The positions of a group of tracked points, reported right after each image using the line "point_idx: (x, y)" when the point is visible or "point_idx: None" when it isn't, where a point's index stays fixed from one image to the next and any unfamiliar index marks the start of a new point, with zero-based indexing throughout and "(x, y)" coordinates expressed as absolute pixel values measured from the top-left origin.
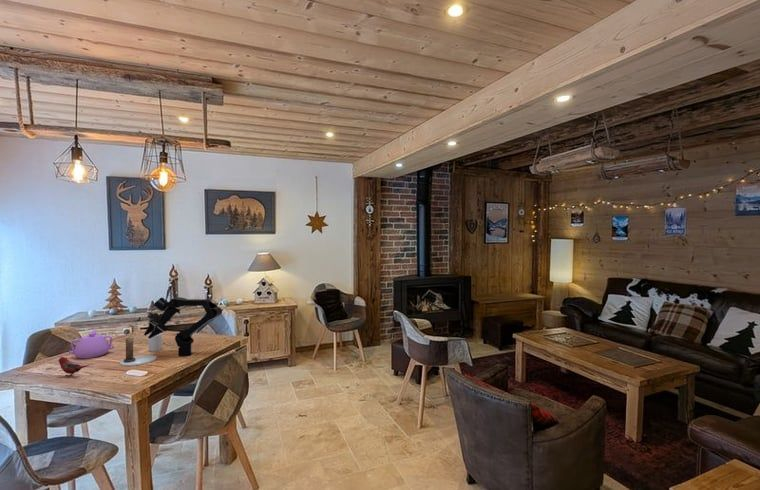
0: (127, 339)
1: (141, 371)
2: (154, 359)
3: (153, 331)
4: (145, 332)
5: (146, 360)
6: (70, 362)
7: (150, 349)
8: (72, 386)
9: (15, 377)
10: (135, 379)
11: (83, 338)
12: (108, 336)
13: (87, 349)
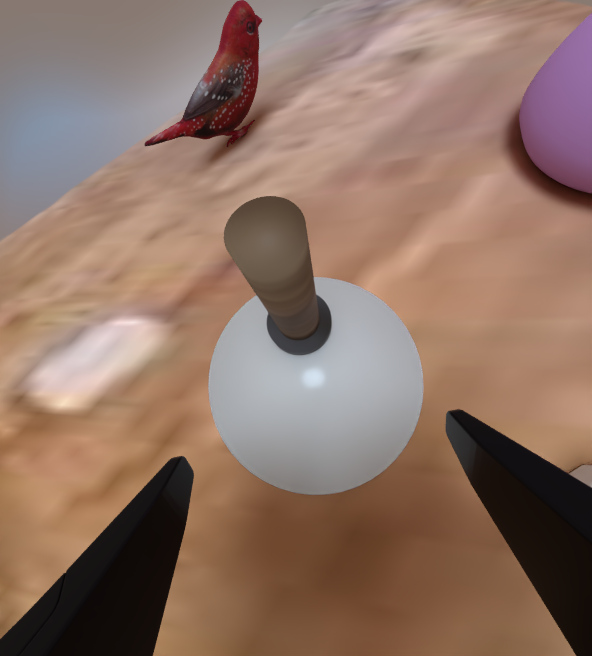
0: (233, 214)
1: (94, 381)
2: (251, 471)
3: (22, 627)
4: (475, 441)
5: (248, 418)
6: (209, 67)
7: (579, 477)
8: (111, 166)
9: (346, 11)
10: (3, 352)
11: None
12: None
13: (551, 72)
